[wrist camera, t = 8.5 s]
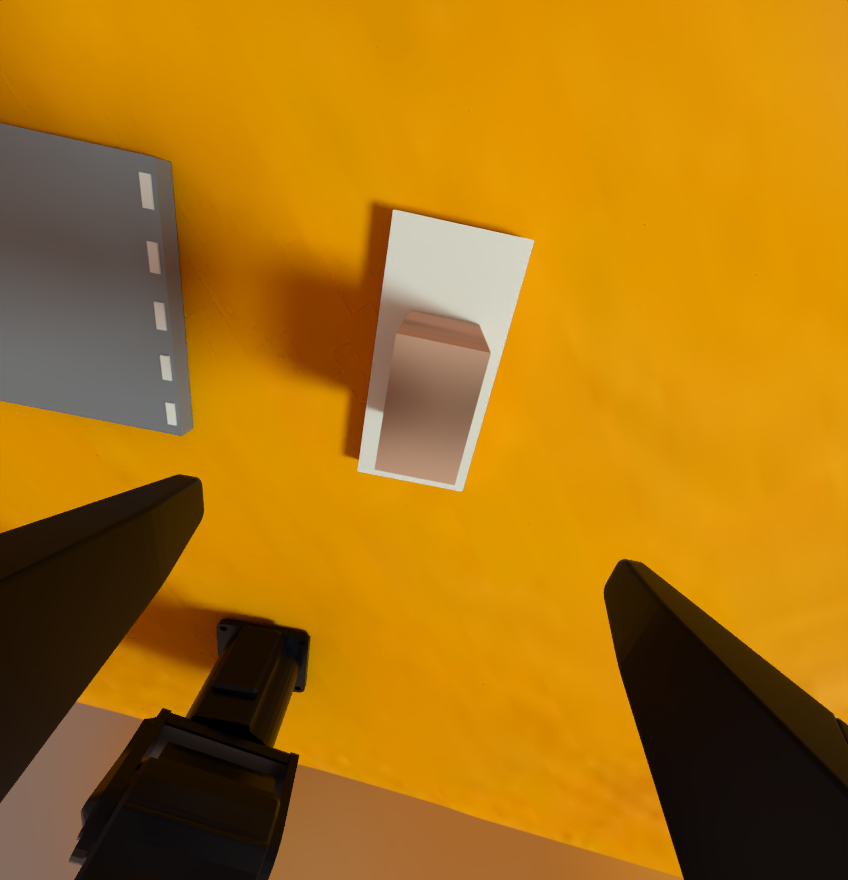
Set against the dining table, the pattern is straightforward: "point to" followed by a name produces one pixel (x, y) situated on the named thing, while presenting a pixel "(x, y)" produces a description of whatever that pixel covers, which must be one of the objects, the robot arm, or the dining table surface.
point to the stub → (438, 346)
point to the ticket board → (90, 283)
